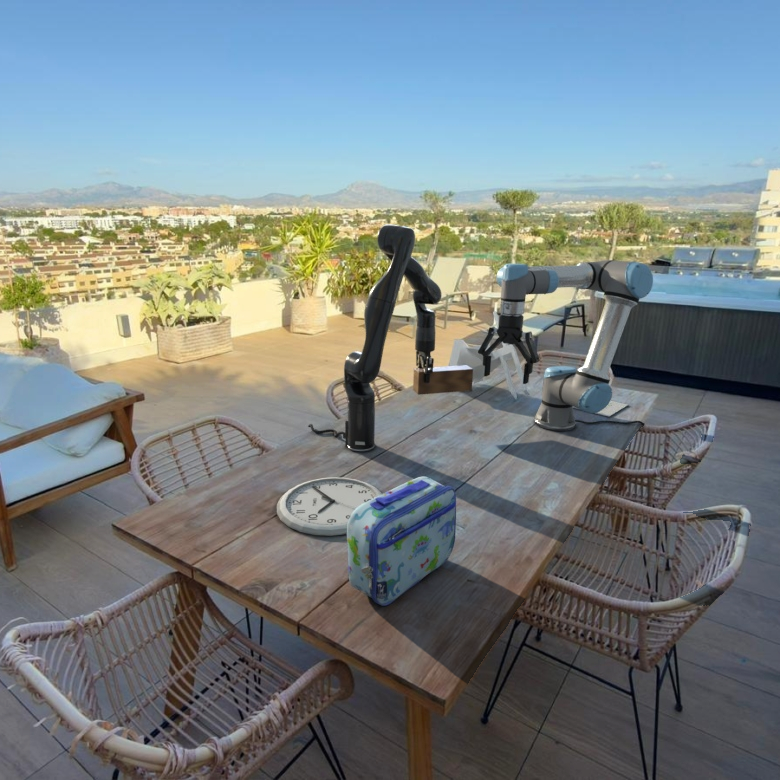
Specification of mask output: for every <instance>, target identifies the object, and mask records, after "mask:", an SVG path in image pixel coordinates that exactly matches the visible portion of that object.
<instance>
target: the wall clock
mask: <svg viewBox="0 0 780 780" xmlns="http://www.w3.org/2000/svg"><path fill="white" fill-rule="evenodd" d="M381 494H384V492H382V491H381V490H380V489H379V488H377V487H376V486H374V485H372V484H371V483H369V482H365V481H362V480H359V479H355V478H349V477H338V476H337V477H335V476H333V477H332V476H331V477H322V478H317V479H312V480H307V481H305V482H302V483H299V484H297V485H295V486H293V487H292V488H290V489H288V490H287V491H286V492H285V493H284V494H283V495H281V496H280V498H279V499H278V502H277V503H276V515H277V517H278V518H279V520H280V521H281V522H282V523H283V524H285V525H286V526H287V527H288V528H290V529H293V530H295V531H297V532H299V533H303V534H308V535H312V536H327V537H328V536H329V537H331V536H332V537H333V536H342V535H347V525H348V521H349V518H350V516H351V514H352V513H353V511H354V510H355V509H356V508H357V507H358V506H360V505H362V504H363V503H365V502H368V501H370V500H372V499H374V498H376V497H378V496H380V495H381Z"/></svg>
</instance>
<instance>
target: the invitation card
mask: <svg viewBox="0 0 780 780" xmlns="http://www.w3.org/2000/svg"><path fill="white" fill-rule="evenodd" d="M628 406H629V404H627V403H623V402H618V401H614V400H610V402H609V404H608V405H607V406H606V407H605V408H604V409H603V410H601V411H600V412H597V413H595V414H596V415H600V416H604V417H608V418H609V417H611V416H613V415H614V414H616V413H617V412H619V411H621V410H623V409H624V408H626V407H628ZM573 409H575V410H579V409H578V408H576V407H573Z"/></svg>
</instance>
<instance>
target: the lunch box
mask: <svg viewBox="0 0 780 780" xmlns="http://www.w3.org/2000/svg"><path fill="white" fill-rule="evenodd" d="M456 524H457V494H456V490H455V488H454V487H453V486H451V485H444V484H441V483H440V482H438V481H436V480H434V479H432V478H431V477H428V476H422V475H421V476H419V477H416V478H413V479H411V480H408V481H407V482H404V483H402V484H400V485H398V486H396V487H394V488H392V489H390V490H388V491H386V492H383V494H381V495H380V496H378V497H376V498H374V499H372V500H370V501H368V502H365V503H363V504H362V505H360V506H358V507H357V508H356V509H355V510H354V511H353V513H352V514H351V516H350V518H349V521H348V525H347V534H346V545H347V546H346V548H347V570H348V572H347V573H348V581H349V583H350V585H351V587H353V588H354V589H356V590H358V591H361V592H362V593H364V594H365V595H366V596H368V597H369V598H371V599H372V601H373V602H374V603H375V604H378V605H379V606H383V607H386V606H388V605H390V604H392V603H394V601H396V600H397V599H398V598H399V597H400V596H402V595H403V594H404V593H406V592H407V591H408V590H410V589H411V588H413V587H414V586H415V585H417V584H418V583H419V582H421V580H422V579H424V577H426V576H427V575H430V573H432V572H434V571H435V570H436V569H438V568H440V567H441V566H442V565H444V563H446V562H447V561H448V559H449V558H450V556H451V554H452V552H453V549H454V546H455V542H456V529H457V525H456Z"/></svg>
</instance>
